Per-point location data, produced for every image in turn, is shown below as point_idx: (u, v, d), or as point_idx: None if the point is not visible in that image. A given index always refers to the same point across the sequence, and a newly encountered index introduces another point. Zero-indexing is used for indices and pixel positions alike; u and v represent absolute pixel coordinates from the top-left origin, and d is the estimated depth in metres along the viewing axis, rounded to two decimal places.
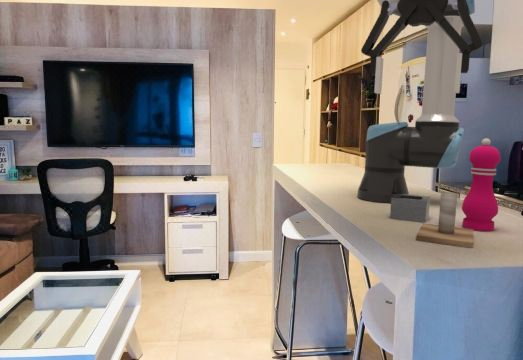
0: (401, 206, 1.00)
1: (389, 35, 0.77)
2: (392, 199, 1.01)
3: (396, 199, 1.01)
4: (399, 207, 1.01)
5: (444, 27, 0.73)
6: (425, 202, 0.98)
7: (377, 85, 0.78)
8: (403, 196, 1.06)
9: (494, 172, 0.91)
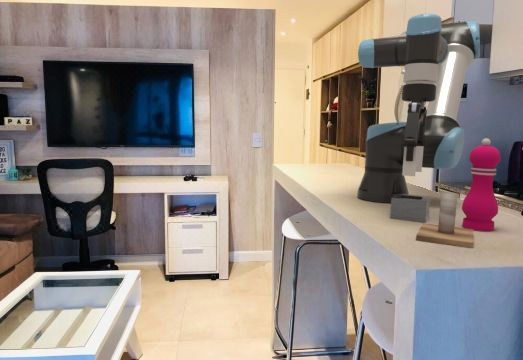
0: (401, 206, 1.00)
1: None
2: (392, 199, 1.01)
3: (396, 199, 1.01)
4: (399, 207, 1.01)
5: None
6: (425, 202, 0.98)
7: None
8: (403, 196, 1.06)
9: (494, 172, 0.91)
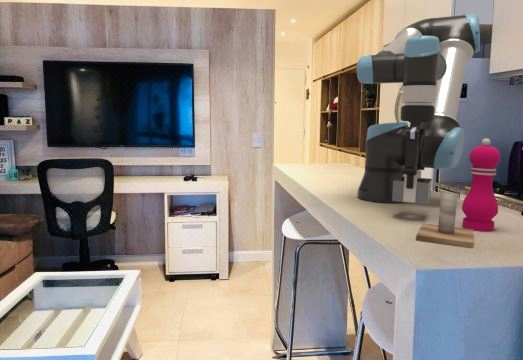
0: (403, 188, 1.00)
1: None
2: (394, 182, 1.01)
3: (398, 182, 1.01)
4: (401, 190, 1.01)
5: None
6: (427, 184, 0.98)
7: None
8: None
9: (494, 172, 0.91)
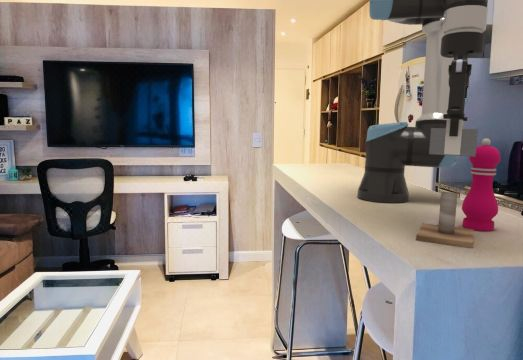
0: (444, 137, 0.80)
1: None
2: (432, 129, 0.81)
3: (437, 129, 0.80)
4: (441, 139, 0.80)
5: None
6: (476, 130, 0.77)
7: None
8: None
9: (494, 172, 0.91)
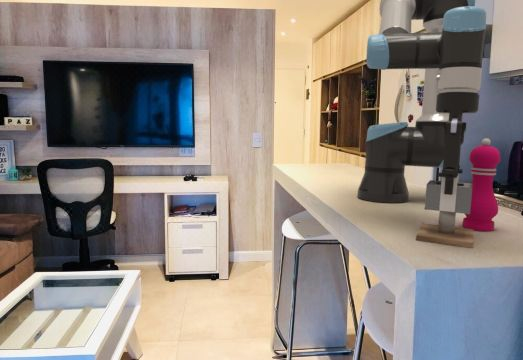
0: (439, 194, 0.81)
1: None
2: (428, 186, 0.82)
3: (433, 186, 0.82)
4: (436, 196, 0.82)
5: None
6: (470, 189, 0.79)
7: None
8: (439, 183, 0.87)
9: (494, 172, 0.91)
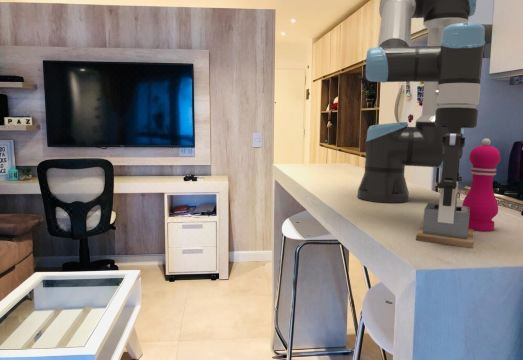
0: (437, 219, 0.82)
1: None
2: (425, 210, 0.83)
3: (430, 210, 0.83)
4: (434, 220, 0.83)
5: None
6: (467, 214, 0.80)
7: None
8: (437, 206, 0.88)
9: (494, 172, 0.91)
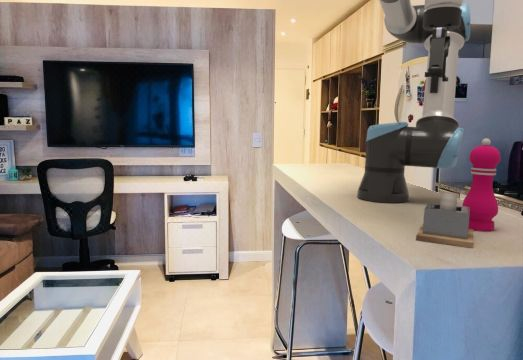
0: (437, 219, 0.82)
1: None
2: (425, 210, 0.83)
3: (430, 210, 0.83)
4: (434, 220, 0.83)
5: None
6: (467, 214, 0.80)
7: None
8: (437, 206, 0.88)
9: (494, 172, 0.91)
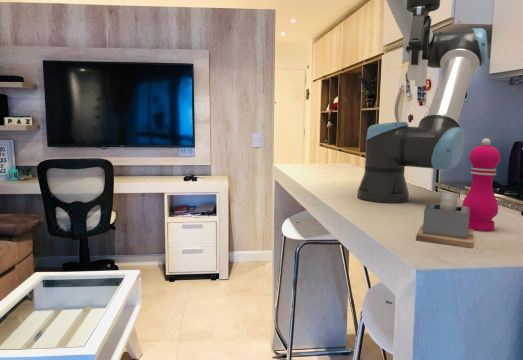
0: (437, 219, 0.82)
1: None
2: (425, 210, 0.83)
3: (430, 210, 0.83)
4: (434, 220, 0.83)
5: None
6: (467, 214, 0.80)
7: (415, 80, 1.10)
8: (437, 206, 0.88)
9: (494, 172, 0.91)
